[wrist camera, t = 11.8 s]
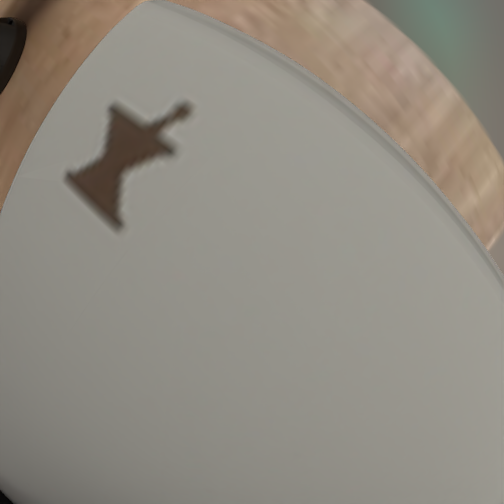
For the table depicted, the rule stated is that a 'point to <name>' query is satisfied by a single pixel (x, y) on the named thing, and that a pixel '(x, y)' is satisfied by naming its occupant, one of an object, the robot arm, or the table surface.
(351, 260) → the supplement box
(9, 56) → the robot arm
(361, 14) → the table surface
